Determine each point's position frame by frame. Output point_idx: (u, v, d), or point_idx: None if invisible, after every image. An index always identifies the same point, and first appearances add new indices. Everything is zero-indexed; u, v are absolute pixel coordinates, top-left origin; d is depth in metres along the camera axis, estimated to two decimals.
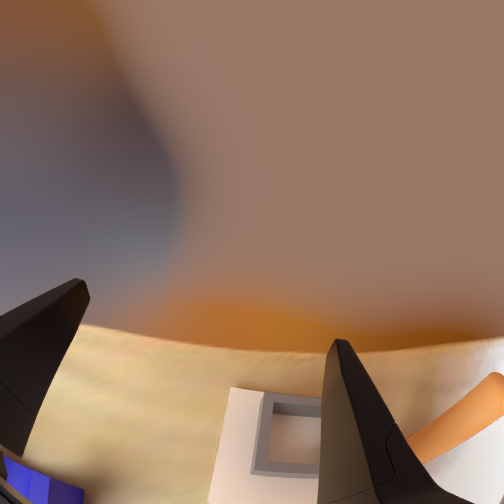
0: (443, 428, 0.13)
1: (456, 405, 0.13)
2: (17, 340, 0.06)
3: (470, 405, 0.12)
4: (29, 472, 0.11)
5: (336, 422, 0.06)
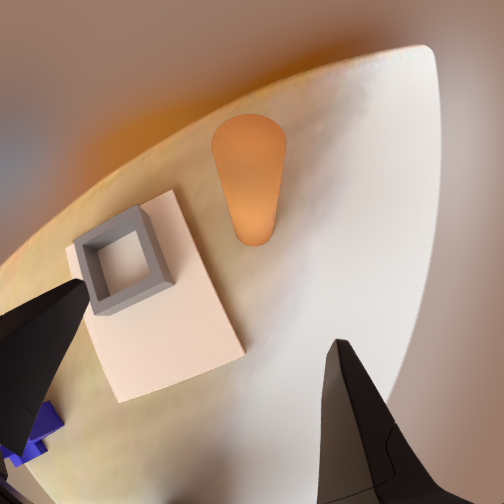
0: (226, 200, 0.16)
1: None
2: (17, 340, 0.06)
3: (218, 170, 0.13)
4: None
5: (336, 422, 0.06)
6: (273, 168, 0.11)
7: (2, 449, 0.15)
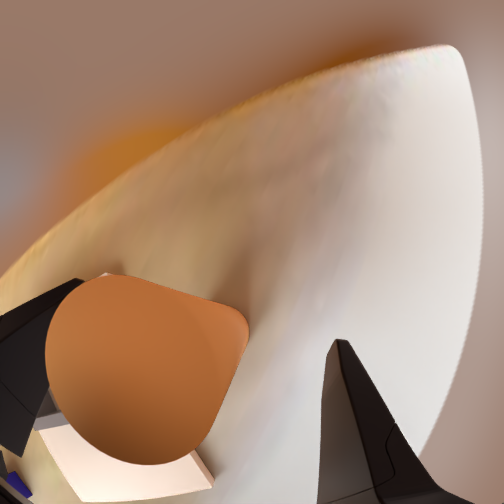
0: None
1: None
2: (17, 340, 0.06)
3: None
4: None
5: (336, 422, 0.06)
6: (186, 452, 0.04)
7: None
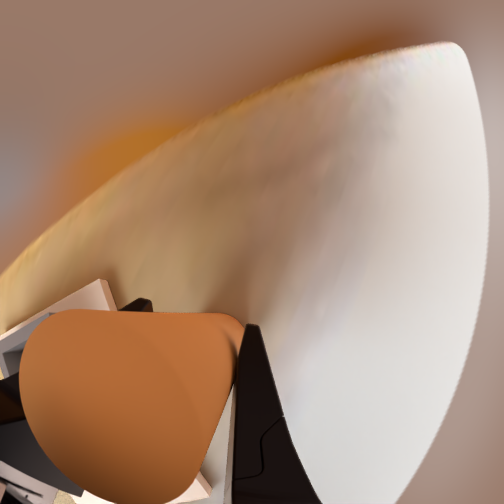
0: None
1: None
2: None
3: None
4: None
5: (232, 408, 0.07)
6: (170, 496, 0.03)
7: None
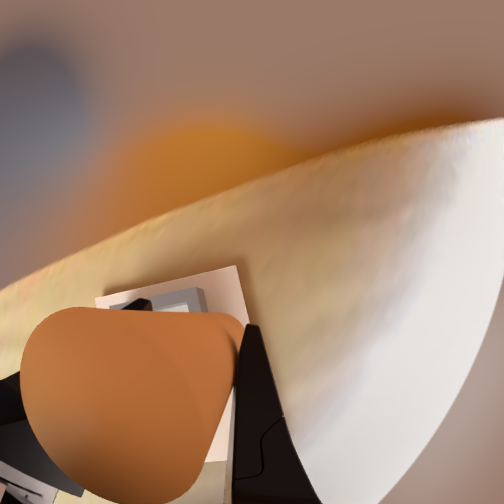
0: None
1: None
2: None
3: None
4: None
5: (232, 408, 0.07)
6: (172, 495, 0.03)
7: None
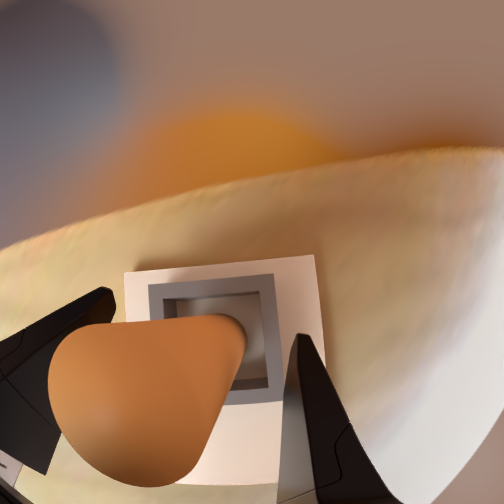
0: None
1: None
2: (43, 356, 0.06)
3: None
4: None
5: (291, 418, 0.06)
6: (178, 477, 0.04)
7: None
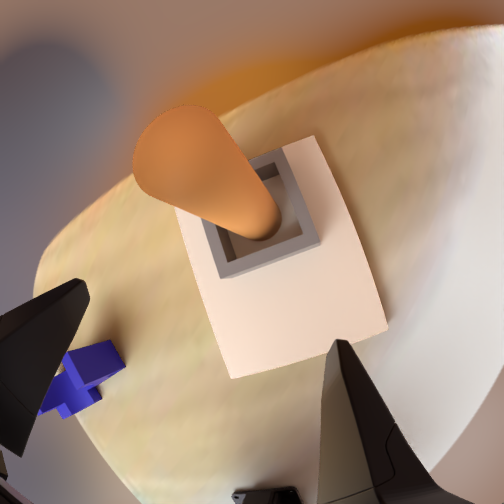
0: None
1: None
2: (18, 340, 0.06)
3: None
4: None
5: (336, 422, 0.06)
6: (214, 175, 0.08)
7: (49, 399, 0.21)
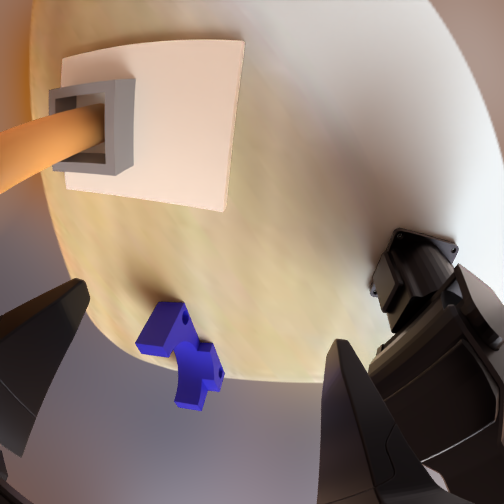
0: None
1: None
2: (18, 340, 0.06)
3: None
4: None
5: (336, 422, 0.06)
6: None
7: (192, 390, 0.29)
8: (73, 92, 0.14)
